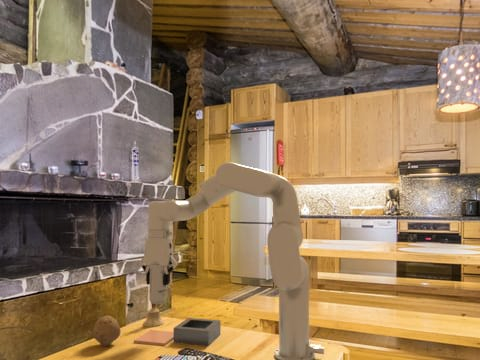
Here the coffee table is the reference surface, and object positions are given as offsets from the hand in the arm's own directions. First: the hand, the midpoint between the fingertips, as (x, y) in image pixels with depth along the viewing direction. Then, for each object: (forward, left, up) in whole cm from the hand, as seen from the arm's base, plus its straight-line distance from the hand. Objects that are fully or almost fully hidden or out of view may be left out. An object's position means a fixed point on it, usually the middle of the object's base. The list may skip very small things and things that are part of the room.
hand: (157, 283), depth 141 cm
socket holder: (-14, -4, -19) cm, 24 cm away
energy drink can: (0, 0, -7) cm, 7 cm away
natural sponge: (+14, +11, -20) cm, 26 cm away
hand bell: (+10, -16, -20) cm, 27 cm away
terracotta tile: (0, 0, -19) cm, 19 cm away
